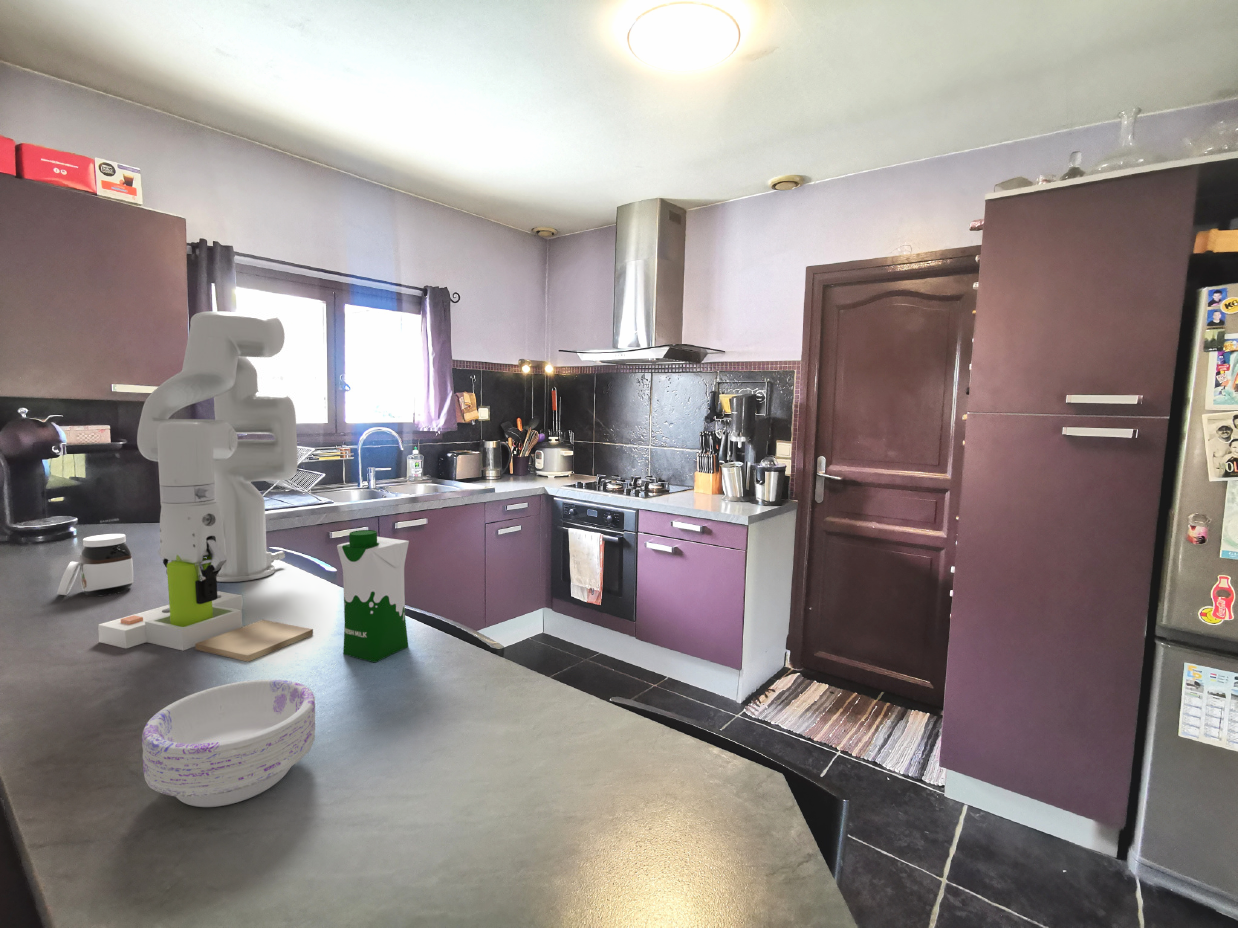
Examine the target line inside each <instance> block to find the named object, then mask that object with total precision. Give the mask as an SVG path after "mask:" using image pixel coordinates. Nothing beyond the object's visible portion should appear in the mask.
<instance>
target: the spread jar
mask: <svg viewBox="0 0 1238 928" xmlns="http://www.w3.org/2000/svg"><path fill="white" fill-rule="evenodd" d="M126 541H127V537H126V534H124V533H107V534H98V535H90V536H87V537H84V538H83V539H82V545H83V548H82V550H81V551H80V553H79V558H78V559H79V561H70V562H69V563H68V565H67V567H66V569H65V570H64V572H63V575H62V577H61V579H60V583H59V585H58V588H57V595H60V596H61V595H62V596H67V595H68V594H69V593H70V591H71V589H72V588H73V585H74V583H75V581H76V579H77V575H78V573H79V575H80V584H81V589H82V591H83V593H84V594H85V595H87V596H89V595H90V596H91V597H100V596H99V595H103V596H109V594H111V595H115V593H116V594H119V593H118V592H120V593H123V592H126V591H128V590H130V588H132V586H133V584H134V566H133V564H134V563H133V555H132V552H131V549H130V548H129V546H128V545H127V543H126ZM125 590H126V591H125ZM90 596H89V597H90Z"/></svg>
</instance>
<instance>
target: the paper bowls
mask: <svg viewBox="0 0 1238 928" xmlns="http://www.w3.org/2000/svg"><path fill="white" fill-rule="evenodd" d="M315 738H316V697H315V694H314V692H313V691H312V690H311V689H310V688H309V687H307V686H306V685H305V684H302V683H300V682H296V681H292V680H285V679H284V680H283V679H276V678H275V679H272V678H271V679H252V680H244V681H237V682H231V683H227V684H222V685H219V686H218V685H217V686H213V687H211V688H207V689H204V690H203V689H202V690H201V691H197V692H195V693H192V694H189V695H187V696H185V697H181V698H180V699H178V700H176V701H174V702H172V703H171V704H168V705H167V706H165V707H164V708H161V709H160V710H159V711H157V712H156V713H155V714H154V715H153V716H152V717H150V719H149V720H148V721H147V722H146V723H145V726H144V727H143V730H142V735H141V742H142V743H141V746H142V764H143V765H142V769H143V775H144V776H143V777H144V780H145V783H146V785H148V787H149V788H150V789H152V791H155V792H157V793H161V794H164V795H167V796H171V797H175V798H176V799H178V800H179V801H180V802H182V803H183V804H186V805H189V806H193V807H199V808H214V807H215V808H217V807H222V806H229V805H233V804H235V803H240V802H242V801H245V800H248V799H251V798H253V797H256V796H257V795H260V794H261V793H264V792H265V791H267V790H268V789H271V787H273V786H275V785H276V784H277V783H278V782H280V781H281V780H282V779H283V777H284V776H286V775H287V773H288V772H289V771H290V769H291V768H292V767H293V766H294V765H296V764H297V763H298V762H300V761H301V760H302V759H303V758H304V757H305V756H306V755H308V753H309V752H310V750H311V748H312V746H313V745H314V742H315Z"/></svg>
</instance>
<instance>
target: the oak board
mask: <svg viewBox="0 0 1238 928" xmlns="http://www.w3.org/2000/svg"><path fill="white" fill-rule="evenodd" d="M312 636H314V630H313V628H308V627H304V626H297V625H293V624H287V623H284V622H277V621H272V620H271V621H270V620H267V619H261V620H258V621H255V622H253V623H250V624H247V625H244V626H242V627H241V628H238V629H235V630H233V631H230V632H227V633H224V634H221V635H218V636H216V637H213V638H210V639H207V640H204V641H201V642H199V643H196V644H195V646H194V648H195V650H196V651H200V652H205V653H209V654H214V655H218V656H221V657H227V658H231V659H235V660H240V661H244V662H251V661H253V660H256V659H258V658H261V657H262V656H265V655H268V654H270V653H273V652H275V651H278V650H279V649H282V648H284V647H287V646H290V645H292V644H294V643H296V642H299V641H301V640H304V639H306V638H308V637H312Z"/></svg>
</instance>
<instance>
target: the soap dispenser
mask: <svg viewBox="0 0 1238 928" xmlns="http://www.w3.org/2000/svg"><path fill="white" fill-rule="evenodd" d="M204 560H207V558H206V557H204V558H203V560H202V561H204ZM202 566H203V569H204V570H205V569H206V568H207V566H208V564H205V565H202ZM166 569H167V574H166V577H167V589H168V590H167V591H168V601H169V604H168V605H169V606H170V621H171V625H175V626H180V627H186V626H189V625H192V624H195V623H198V622H201V621H204V620H208V619H211V618H213V608H212V601H210V602H206V603H203V604H197V602H196V585H195V581H197V580H199V579H198V576H197V573H196V570H195V565H194V564H191V563H186V562H182V560H181V558H180V557H179V556H178V555H177V556H176V561H172V562H169V563H168V564H167V568H166Z"/></svg>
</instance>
